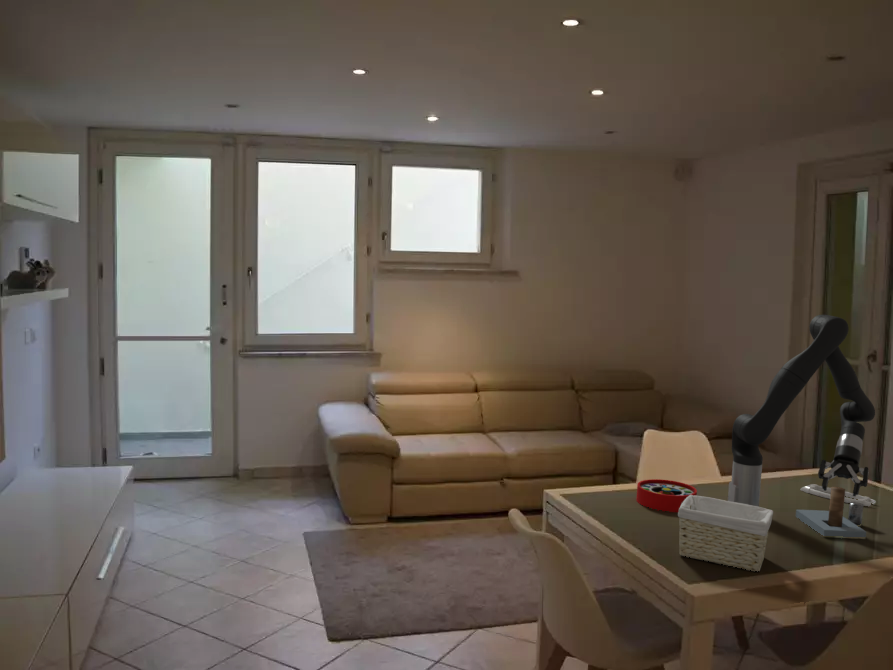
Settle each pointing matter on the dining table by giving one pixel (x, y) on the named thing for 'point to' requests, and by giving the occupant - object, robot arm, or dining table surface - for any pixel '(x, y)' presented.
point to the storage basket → (723, 532)
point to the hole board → (820, 524)
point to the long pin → (836, 507)
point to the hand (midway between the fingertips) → (839, 492)
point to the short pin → (855, 513)
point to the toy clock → (663, 494)
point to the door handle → (817, 490)
